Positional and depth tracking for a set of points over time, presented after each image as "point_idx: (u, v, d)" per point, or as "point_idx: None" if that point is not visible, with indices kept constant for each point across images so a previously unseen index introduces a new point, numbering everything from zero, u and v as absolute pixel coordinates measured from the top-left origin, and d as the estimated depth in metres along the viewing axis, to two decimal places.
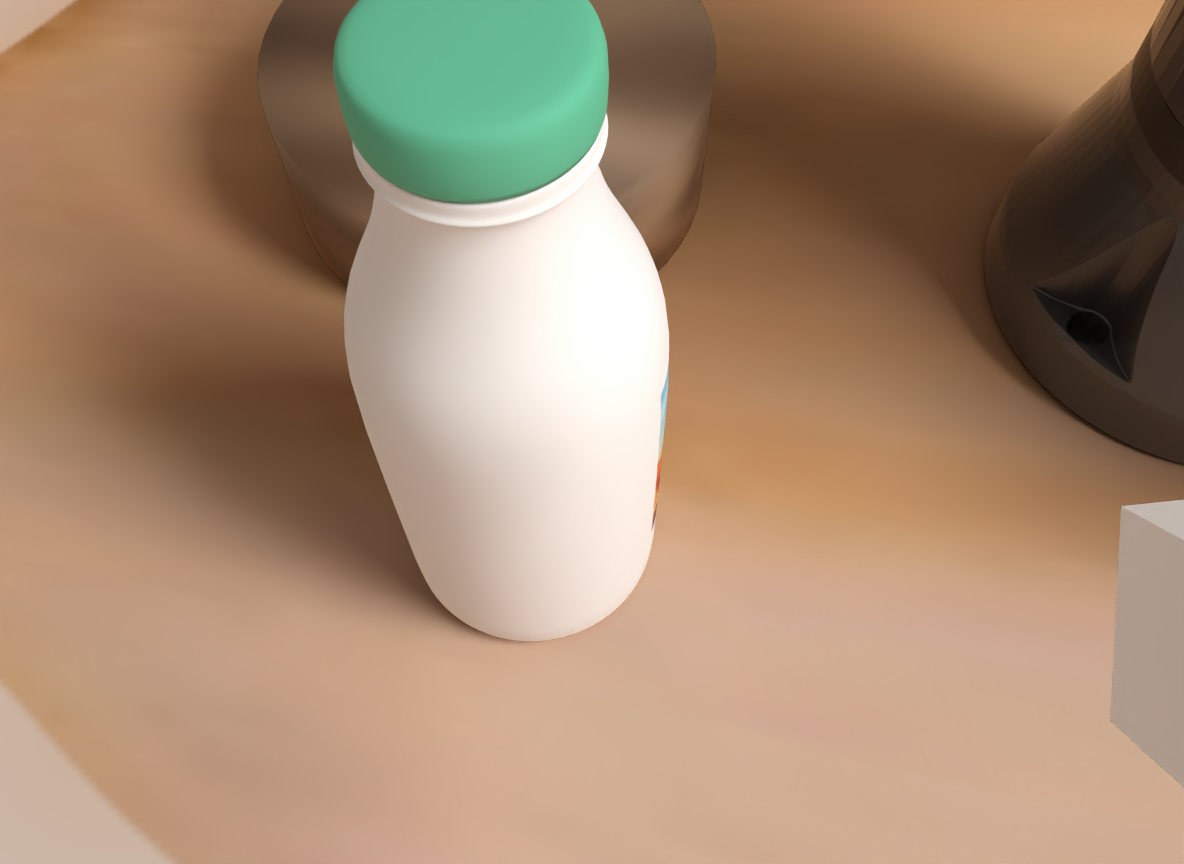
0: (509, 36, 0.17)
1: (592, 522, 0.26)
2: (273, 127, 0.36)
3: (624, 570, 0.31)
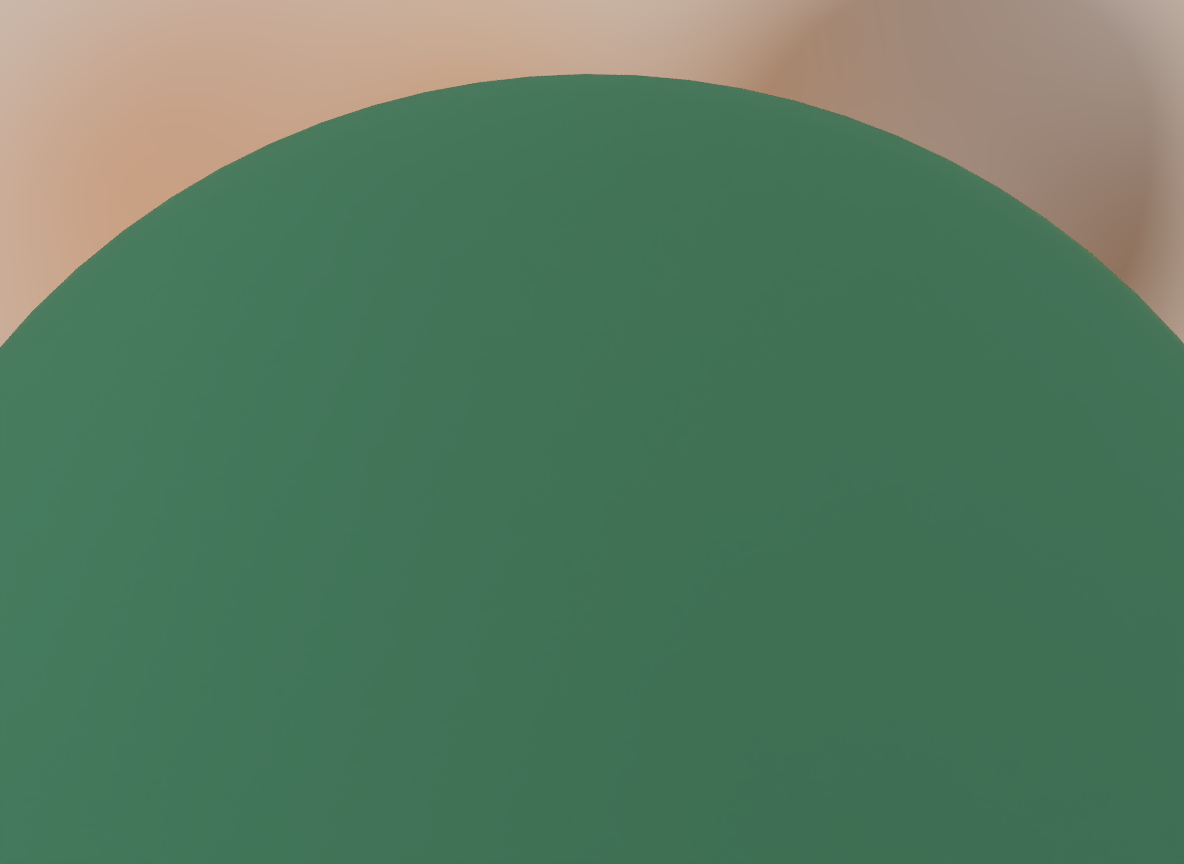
0: (833, 569, 0.03)
1: None
2: None
3: None
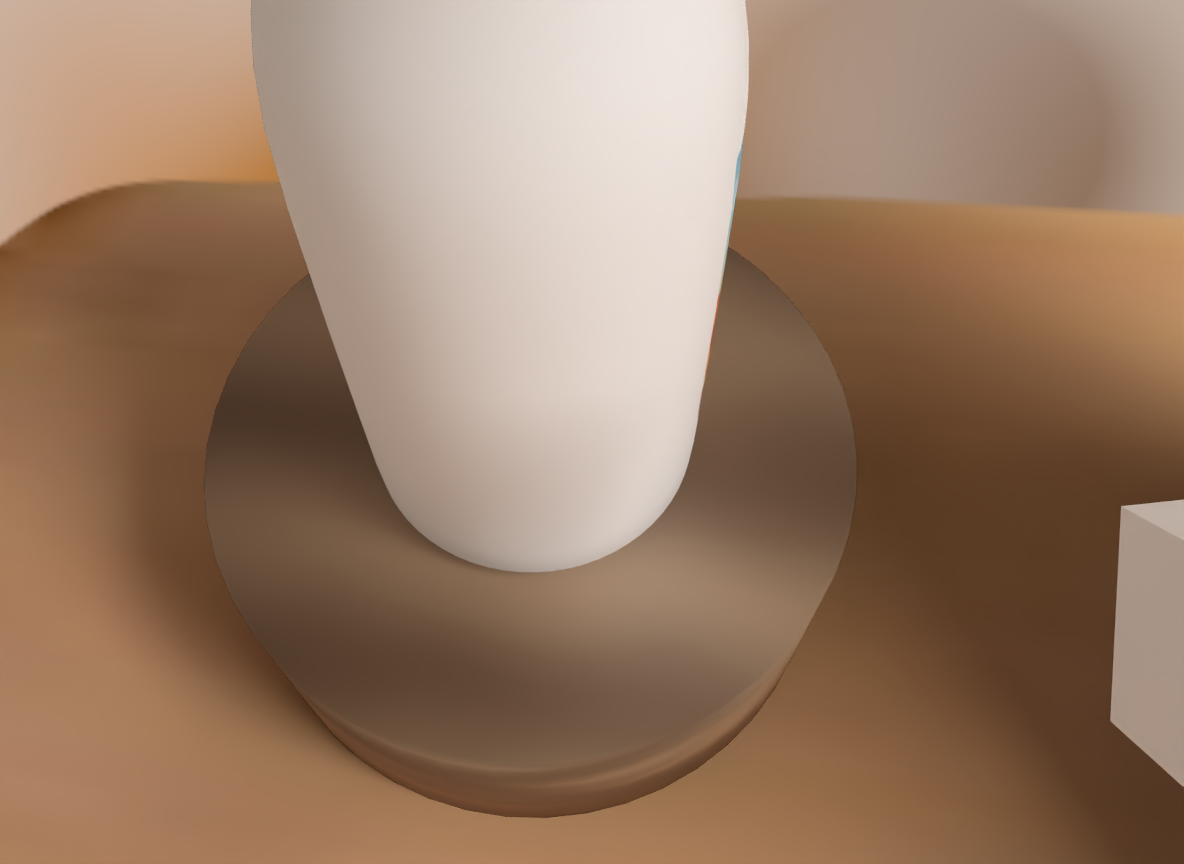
0: None
1: (631, 364, 0.18)
2: (227, 579, 0.24)
3: (664, 465, 0.22)
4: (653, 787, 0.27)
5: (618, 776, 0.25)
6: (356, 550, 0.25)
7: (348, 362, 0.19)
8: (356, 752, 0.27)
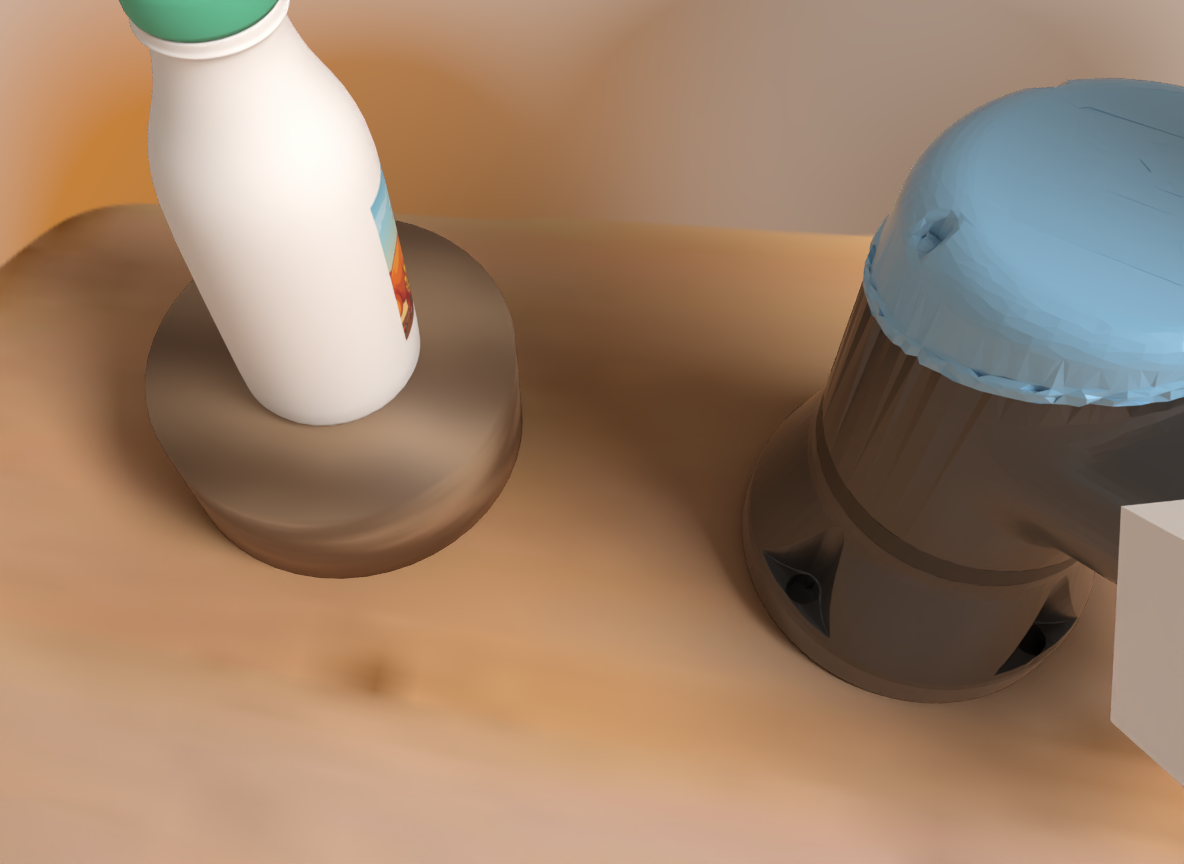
0: None
1: (331, 301, 0.38)
2: (155, 428, 0.44)
3: (381, 363, 0.42)
4: (403, 560, 0.47)
5: (370, 540, 0.45)
6: (227, 414, 0.45)
7: (205, 302, 0.39)
8: (233, 539, 0.47)
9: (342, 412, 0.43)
